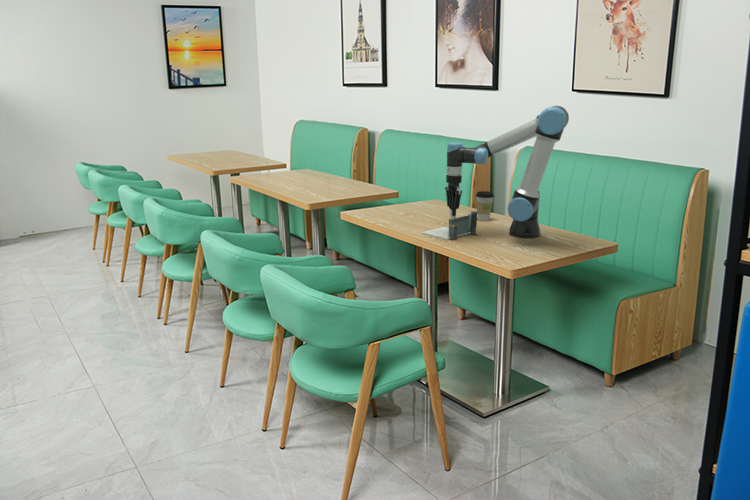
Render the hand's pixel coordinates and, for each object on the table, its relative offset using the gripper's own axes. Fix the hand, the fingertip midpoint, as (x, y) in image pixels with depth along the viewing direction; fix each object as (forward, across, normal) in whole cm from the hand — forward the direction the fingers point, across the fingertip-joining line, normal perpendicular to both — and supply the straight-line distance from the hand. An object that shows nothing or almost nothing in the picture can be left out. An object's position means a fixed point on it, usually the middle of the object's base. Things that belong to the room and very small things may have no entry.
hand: (452, 221), depth 309 cm
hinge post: (+6, +5, +9) cm, 12 cm away
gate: (+5, +6, +1) cm, 8 cm away
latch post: (+6, +10, -5) cm, 13 cm away
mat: (+6, -2, -3) cm, 7 cm away
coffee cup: (+7, -22, +32) cm, 39 cm away
